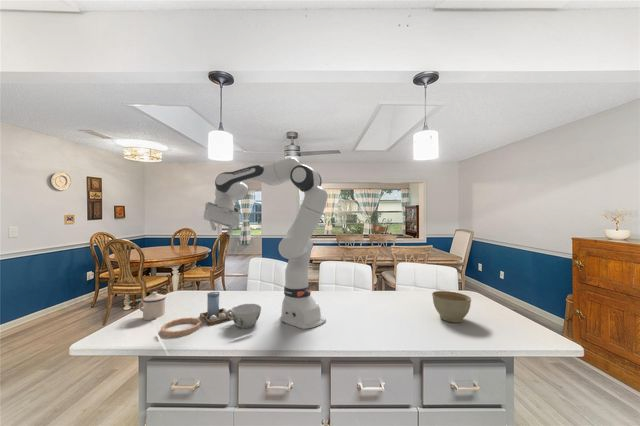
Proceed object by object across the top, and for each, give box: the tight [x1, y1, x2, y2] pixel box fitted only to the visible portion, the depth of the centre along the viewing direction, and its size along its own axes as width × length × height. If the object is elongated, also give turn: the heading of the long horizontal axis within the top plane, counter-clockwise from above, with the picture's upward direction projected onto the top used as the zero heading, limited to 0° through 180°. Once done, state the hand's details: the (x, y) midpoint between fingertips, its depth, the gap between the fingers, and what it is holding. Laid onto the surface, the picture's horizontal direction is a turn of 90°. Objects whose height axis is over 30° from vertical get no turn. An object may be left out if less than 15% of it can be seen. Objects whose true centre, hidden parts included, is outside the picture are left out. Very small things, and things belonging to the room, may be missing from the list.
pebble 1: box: [209, 315, 217, 321], centre depth 110 cm, size 3×3×3 cm
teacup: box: [227, 303, 262, 329], centre depth 107 cm, size 15×12×8 cm
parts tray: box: [199, 308, 232, 326], centre depth 114 cm, size 13×11×2 cm
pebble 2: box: [219, 313, 226, 319], centre depth 112 cm, size 3×3×3 cm
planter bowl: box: [431, 290, 472, 323], centre depth 116 cm, size 16×16×11 cm
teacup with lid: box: [138, 291, 167, 321], centre depth 118 cm, size 12×9×12 cm
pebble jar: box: [206, 291, 220, 319], centre depth 115 cm, size 5×5×11 cm
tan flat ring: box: [160, 316, 202, 338], centre depth 103 cm, size 14×14×3 cm
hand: (221, 232), depth 126 cm, fingers open, 8 cm apart
